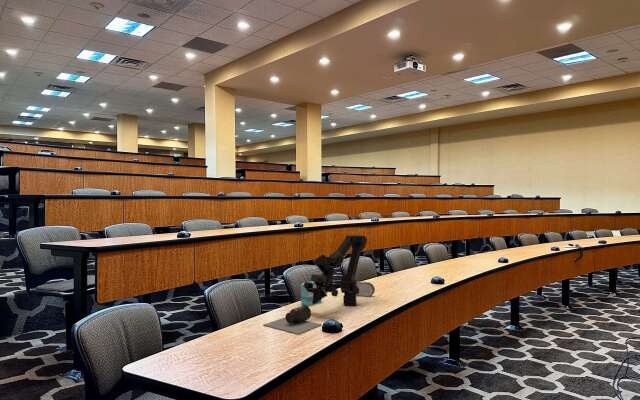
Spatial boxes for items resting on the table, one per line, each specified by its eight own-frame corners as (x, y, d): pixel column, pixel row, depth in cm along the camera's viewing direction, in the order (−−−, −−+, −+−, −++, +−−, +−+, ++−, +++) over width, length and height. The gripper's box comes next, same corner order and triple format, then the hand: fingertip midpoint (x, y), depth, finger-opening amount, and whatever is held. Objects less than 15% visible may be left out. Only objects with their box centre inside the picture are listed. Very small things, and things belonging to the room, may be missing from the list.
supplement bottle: (299, 311, 203) (281, 316, 193) (305, 302, 200) (288, 307, 191) (307, 322, 199) (289, 328, 190) (314, 313, 196) (296, 318, 187)
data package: (306, 306, 225) (306, 284, 225) (300, 305, 228) (300, 283, 228) (321, 302, 234) (321, 280, 234) (316, 301, 237) (315, 280, 237)
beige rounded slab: (374, 296, 246) (374, 282, 246) (373, 297, 243) (373, 283, 243) (350, 294, 251) (350, 280, 251) (348, 296, 248) (348, 281, 248)
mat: (287, 317, 205) (287, 316, 205) (322, 325, 191) (322, 324, 191) (263, 325, 193) (263, 324, 193) (298, 334, 179) (298, 333, 179)
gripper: (304, 266, 213) (290, 292, 205) (333, 269, 201) (320, 297, 193) (315, 278, 219) (302, 304, 211) (344, 282, 208) (331, 310, 199)
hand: (313, 303), depth 203 cm, fingers closed
